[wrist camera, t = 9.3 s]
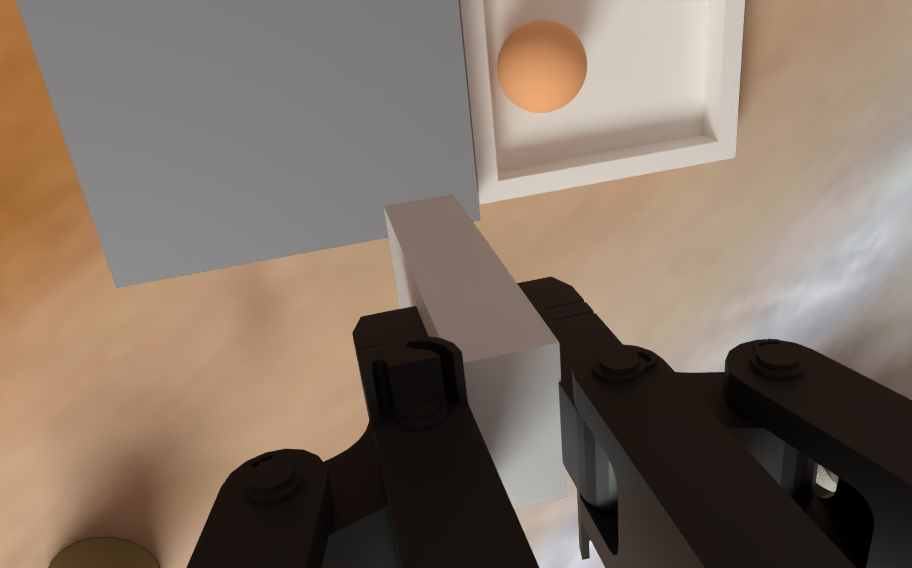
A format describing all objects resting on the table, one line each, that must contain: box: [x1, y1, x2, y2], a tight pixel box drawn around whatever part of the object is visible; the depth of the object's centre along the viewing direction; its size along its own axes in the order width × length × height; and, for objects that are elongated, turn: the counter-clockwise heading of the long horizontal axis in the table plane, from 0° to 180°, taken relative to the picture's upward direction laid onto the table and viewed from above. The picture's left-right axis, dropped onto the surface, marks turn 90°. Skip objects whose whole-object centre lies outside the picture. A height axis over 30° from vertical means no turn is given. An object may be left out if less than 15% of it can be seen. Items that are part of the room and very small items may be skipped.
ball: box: [497, 20, 587, 113], centre depth 33 cm, size 4×4×4 cm
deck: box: [16, 0, 480, 288], centre depth 32 cm, size 16×12×4 cm
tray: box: [459, 0, 745, 204], centre depth 35 cm, size 14×12×2 cm
